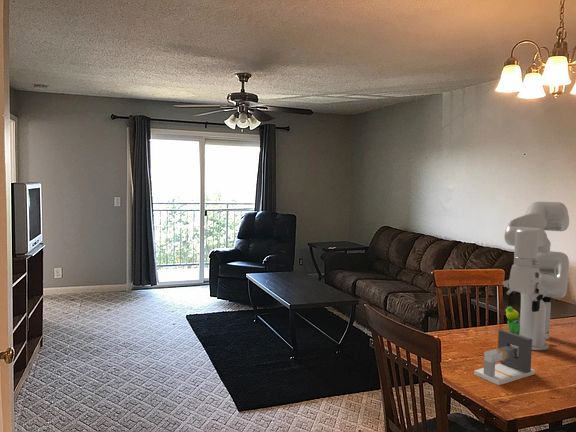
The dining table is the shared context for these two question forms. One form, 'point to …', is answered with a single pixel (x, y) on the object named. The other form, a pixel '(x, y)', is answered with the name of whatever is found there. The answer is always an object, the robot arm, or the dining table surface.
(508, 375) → the stand
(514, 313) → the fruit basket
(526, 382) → the dining table surface
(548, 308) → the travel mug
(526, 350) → the collar
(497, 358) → the grey square bar
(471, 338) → the dining table surface
